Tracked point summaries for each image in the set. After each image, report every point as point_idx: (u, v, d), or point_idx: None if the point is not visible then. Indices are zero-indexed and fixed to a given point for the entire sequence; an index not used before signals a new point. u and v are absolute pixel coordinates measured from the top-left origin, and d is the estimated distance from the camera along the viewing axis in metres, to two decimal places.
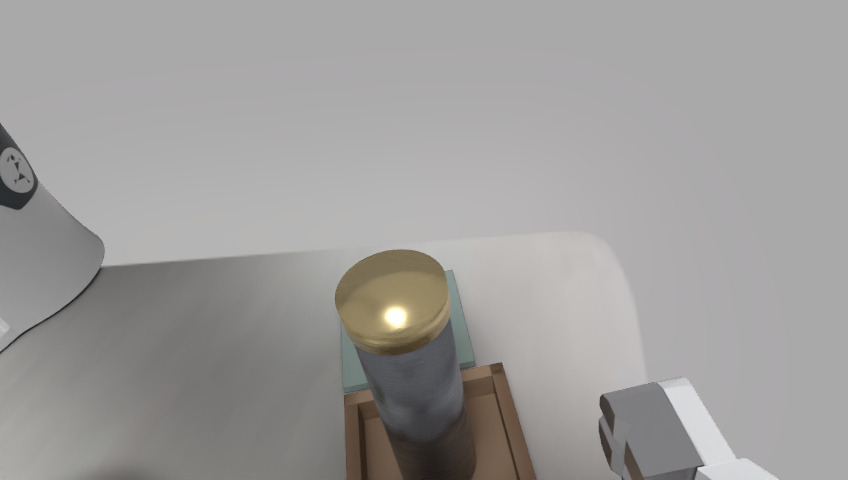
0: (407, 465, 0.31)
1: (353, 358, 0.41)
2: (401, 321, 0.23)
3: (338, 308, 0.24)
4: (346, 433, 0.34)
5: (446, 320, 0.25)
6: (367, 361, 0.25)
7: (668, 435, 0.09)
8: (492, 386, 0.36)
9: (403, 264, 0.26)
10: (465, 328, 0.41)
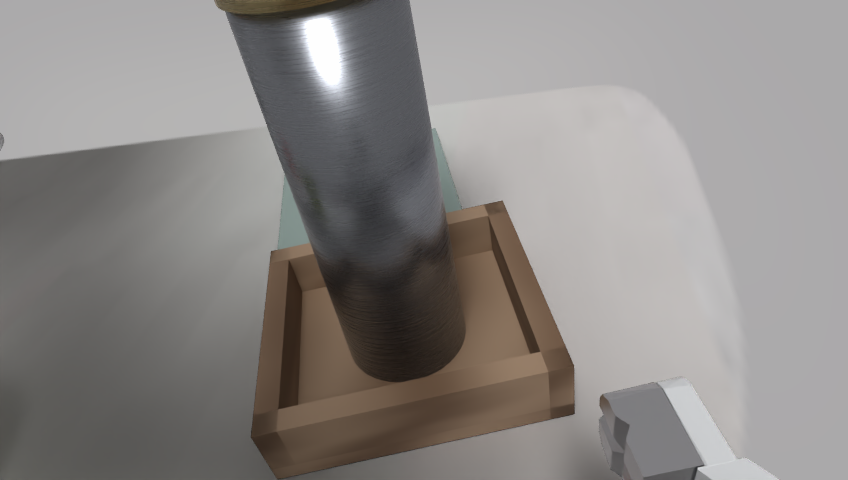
0: (351, 315, 0.19)
1: (295, 225, 0.29)
2: None
3: None
4: (268, 294, 0.23)
5: None
6: (255, 56, 0.14)
7: (668, 435, 0.09)
8: (489, 236, 0.25)
9: None
10: (451, 184, 0.30)
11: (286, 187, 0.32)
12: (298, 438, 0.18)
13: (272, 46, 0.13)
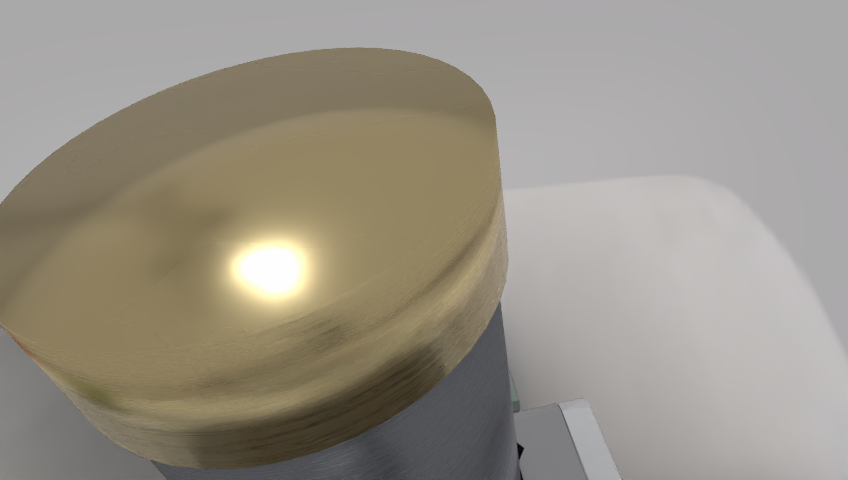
0: None
1: None
2: (248, 291, 0.04)
3: None
4: None
5: (493, 296, 0.05)
6: (160, 471, 0.06)
7: (559, 459, 0.09)
8: None
9: (317, 83, 0.07)
10: None
11: None
12: None
13: None
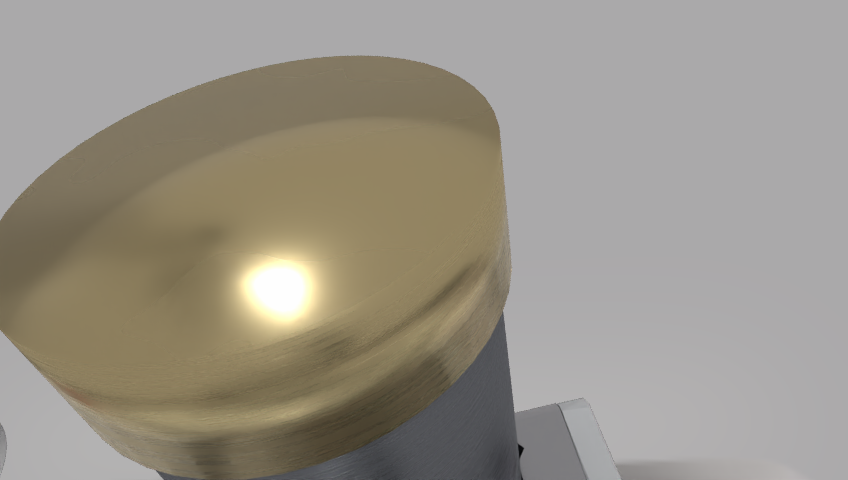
0: None
1: None
2: (255, 304, 0.04)
3: None
4: None
5: (497, 306, 0.05)
6: None
7: (559, 459, 0.09)
8: None
9: (321, 91, 0.07)
10: None
11: None
12: None
13: None
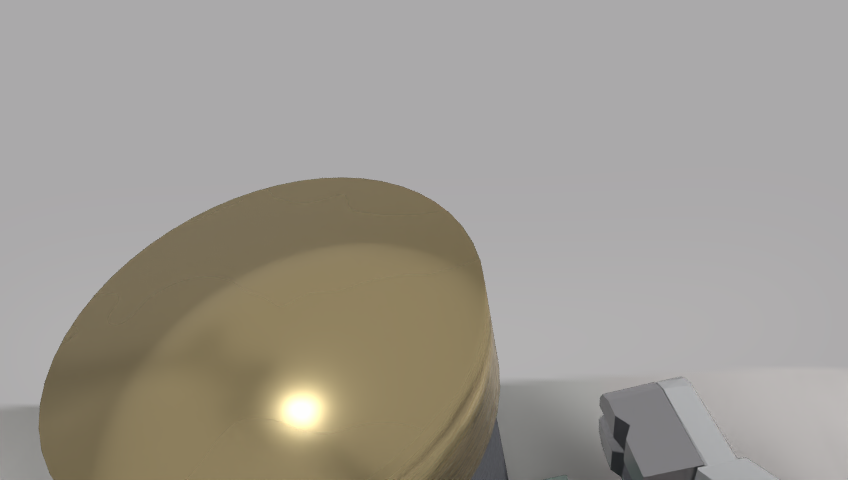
0: None
1: None
2: None
3: (46, 400, 0.06)
4: None
5: (486, 435, 0.06)
6: None
7: (668, 435, 0.09)
8: None
9: (326, 223, 0.07)
10: None
11: None
12: None
13: None
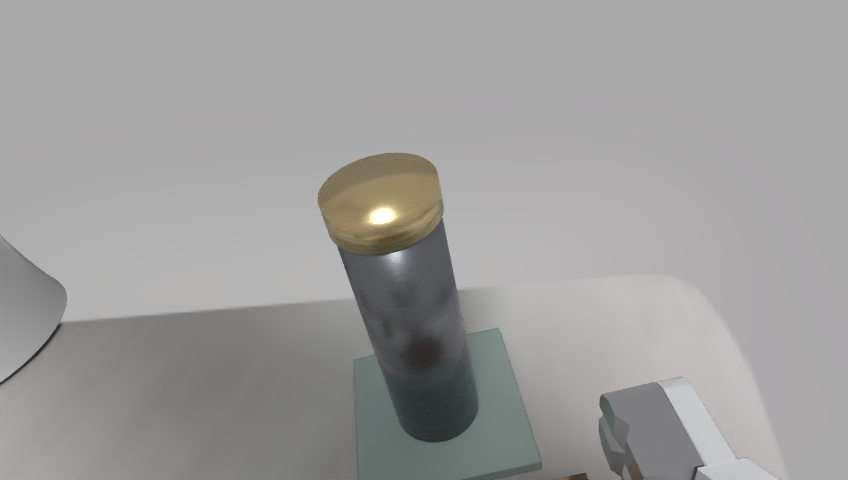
0: (402, 401, 0.29)
1: (373, 456, 0.30)
2: (387, 213, 0.21)
3: (320, 205, 0.23)
4: None
5: (437, 219, 0.23)
6: (353, 267, 0.23)
7: (668, 435, 0.09)
8: None
9: (392, 165, 0.24)
10: (523, 412, 0.31)
11: (358, 399, 0.33)
12: None
13: (365, 266, 0.23)
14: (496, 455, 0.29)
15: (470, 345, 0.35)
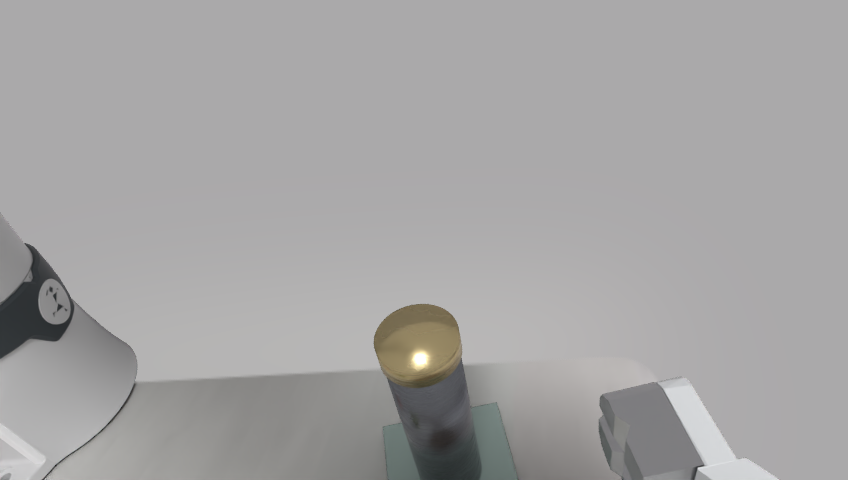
0: (426, 472, 0.38)
1: None
2: (425, 363, 0.31)
3: (376, 351, 0.32)
4: None
5: (458, 360, 0.32)
6: (398, 391, 0.33)
7: (668, 435, 0.09)
8: None
9: (425, 316, 0.34)
10: (515, 476, 0.41)
11: (388, 461, 0.43)
12: None
13: (407, 392, 0.33)
14: None
15: (474, 417, 0.45)
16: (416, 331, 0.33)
